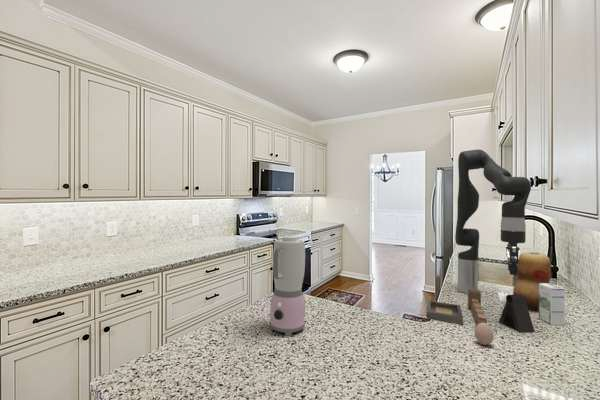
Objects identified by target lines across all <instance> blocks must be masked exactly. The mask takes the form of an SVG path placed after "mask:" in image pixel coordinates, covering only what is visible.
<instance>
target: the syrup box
mask: <svg viewBox="0 0 600 400" xmlns="http://www.w3.org/2000/svg"><path fill="white" fill-rule="evenodd" d="M565 303H566V288H565V287H563V286H561V285H557V284H554V283H550V282H549V283H541V284H540V283H539V310H538V319H539V320H540V321H543V322H544V323H547V324H549V325H554V326H566V304H565Z"/></svg>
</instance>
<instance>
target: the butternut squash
mask: <svg viewBox="0 0 600 400" xmlns="http://www.w3.org/2000/svg"><path fill="white" fill-rule="evenodd" d="M518 262H519V263H518V265H517V281H516V282H515V285H514V287H513V290H512V292H513V293H512V295H514V294H522V295H525V296H526V298H527V307H528V309H532V310H537V309H539V283H540V284H541V283H550V280H551V278H552V273H551V272H552V270H551V269H552V264H551V259H550V257H549V256H547V255H546V254H545V253H542V252H539V251H525V252H521V253H519V260H518Z"/></svg>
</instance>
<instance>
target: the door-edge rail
mask: <svg viewBox="0 0 600 400" xmlns="http://www.w3.org/2000/svg"><path fill="white" fill-rule="evenodd" d="M481 303H482V292H481V290H479V289H478V290H471V289H468V294H467V308H468V311H471V314H472V317H473V319H474V322H475V325H476V326H477V325H478V324H479V323H486V324H488V317H487V316H486V314H485V312H484V309H483V307H482V305H481Z"/></svg>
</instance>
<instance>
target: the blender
mask: <svg viewBox="0 0 600 400" xmlns="http://www.w3.org/2000/svg"><path fill="white" fill-rule="evenodd" d="M305 268H306V242H305V240H302V239H298V237H297V236H292V235H287V236H282V239H275V240H274V242H273V252H272V274H273V281H274V290H273V293H272V296H271V297H270V307H269V308H270V309H269V311H270V314H269V315H270V316H269V317H270V318H269V319H270V320H269V330H270V331H271V332H274V331H276V332H279V333H284V336H285V337H291V336H292V335H293V333H295V332H299V331H301V330H303V329H304V328H305V325H306V320H305V319H306V315H305V314H306V298H305V295H304V292H303V290H302V288H303V283H304V278H305Z"/></svg>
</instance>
